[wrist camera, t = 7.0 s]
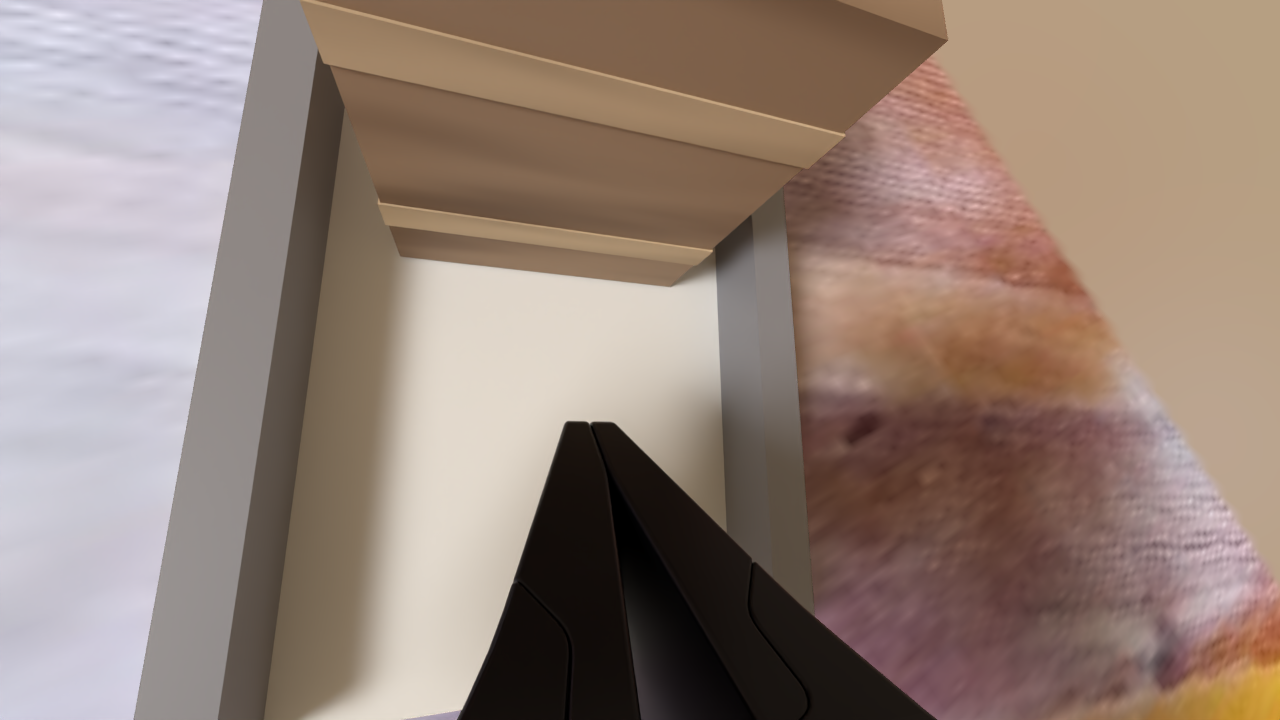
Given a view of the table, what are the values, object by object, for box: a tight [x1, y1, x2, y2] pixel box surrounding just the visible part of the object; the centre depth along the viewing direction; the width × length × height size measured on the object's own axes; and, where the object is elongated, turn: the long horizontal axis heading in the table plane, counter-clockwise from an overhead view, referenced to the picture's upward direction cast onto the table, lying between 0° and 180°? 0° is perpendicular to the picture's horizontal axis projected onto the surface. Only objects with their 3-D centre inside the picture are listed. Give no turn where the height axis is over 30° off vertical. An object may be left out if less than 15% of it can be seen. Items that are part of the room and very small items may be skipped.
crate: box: [300, 0, 948, 287], centre depth 11 cm, size 7×8×10 cm
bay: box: [134, 0, 815, 720], centre depth 13 cm, size 20×14×5 cm
